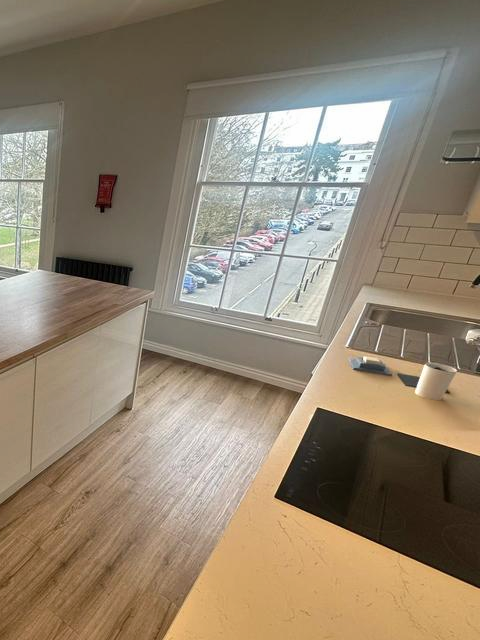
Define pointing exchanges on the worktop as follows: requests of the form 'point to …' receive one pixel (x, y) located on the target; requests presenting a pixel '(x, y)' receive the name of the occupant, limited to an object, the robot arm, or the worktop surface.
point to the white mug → (434, 380)
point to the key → (371, 360)
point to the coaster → (411, 380)
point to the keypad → (369, 367)
